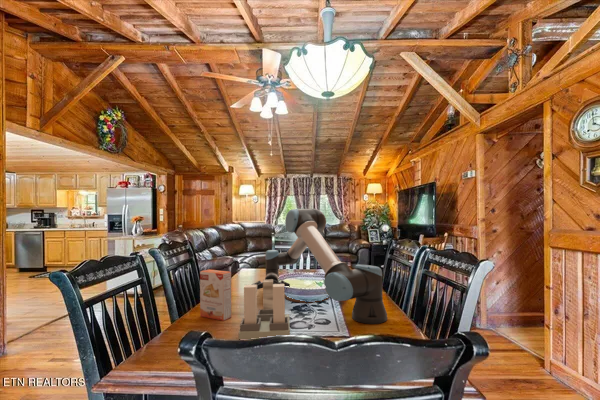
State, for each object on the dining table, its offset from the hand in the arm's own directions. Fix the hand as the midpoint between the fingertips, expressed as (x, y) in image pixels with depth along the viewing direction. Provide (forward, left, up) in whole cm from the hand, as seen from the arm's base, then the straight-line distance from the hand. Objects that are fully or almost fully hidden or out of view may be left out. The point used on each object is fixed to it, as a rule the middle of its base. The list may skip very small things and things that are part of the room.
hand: (269, 290), depth 154 cm
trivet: (+3, -29, -10) cm, 30 cm away
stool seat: (-21, +17, -9) cm, 29 cm away
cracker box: (+8, +24, -9) cm, 27 cm away
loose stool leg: (-7, +6, -9) cm, 13 cm away
